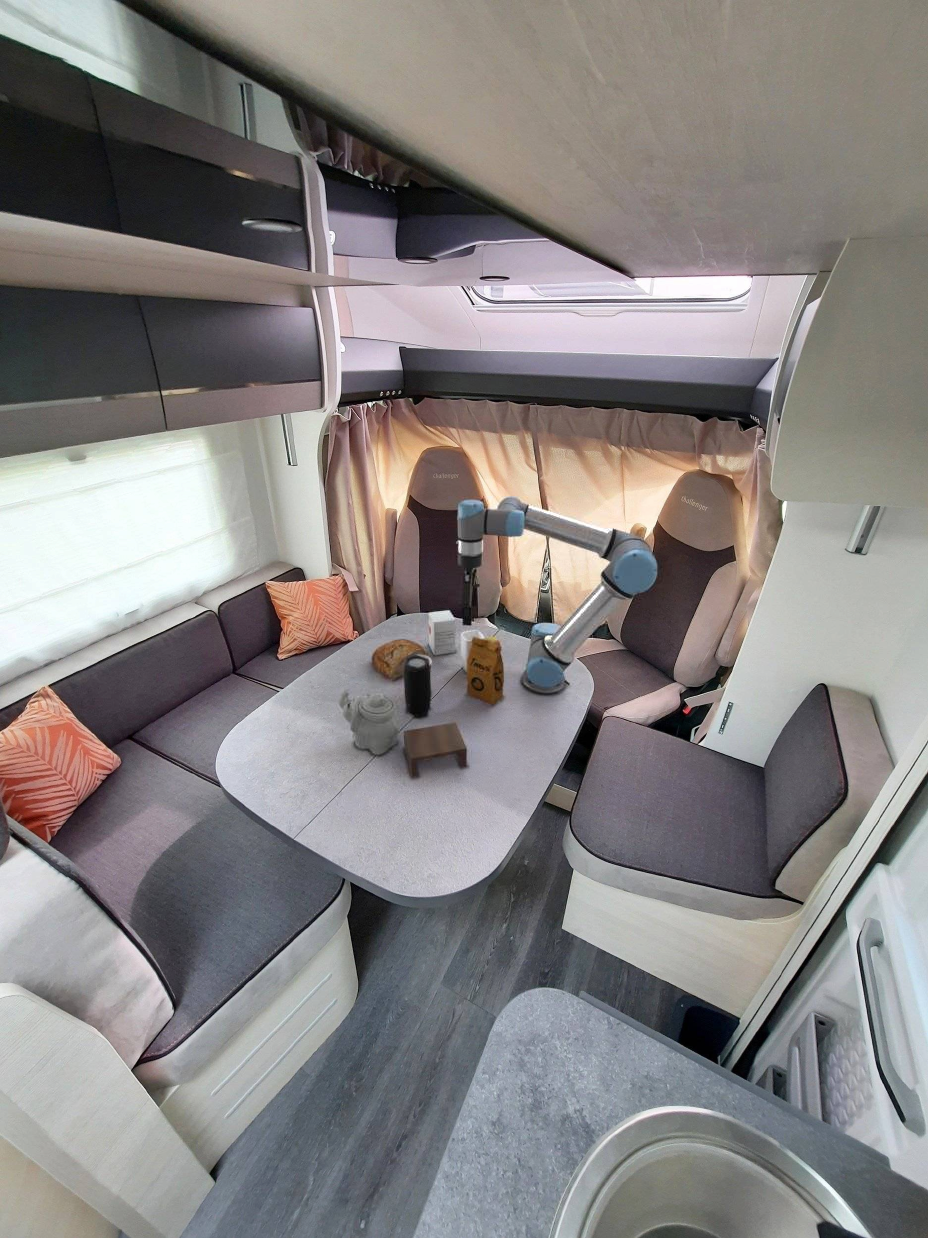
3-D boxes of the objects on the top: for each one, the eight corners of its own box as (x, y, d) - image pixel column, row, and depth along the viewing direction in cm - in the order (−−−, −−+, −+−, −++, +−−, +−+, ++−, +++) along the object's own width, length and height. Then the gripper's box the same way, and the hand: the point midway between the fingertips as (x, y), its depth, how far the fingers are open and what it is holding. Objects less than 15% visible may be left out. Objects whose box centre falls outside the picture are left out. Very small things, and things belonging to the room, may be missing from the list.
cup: (484, 672, 191) (485, 638, 184) (466, 676, 189) (467, 641, 182) (476, 662, 197) (477, 629, 190) (459, 666, 195) (459, 632, 188)
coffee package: (489, 710, 171) (492, 654, 161) (462, 695, 178) (463, 640, 168) (507, 697, 177) (511, 642, 167) (480, 683, 185) (482, 630, 175)
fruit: (475, 639, 202) (494, 647, 196) (486, 629, 205) (505, 637, 199) (477, 651, 206) (496, 660, 200) (488, 642, 210) (507, 650, 204)
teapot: (341, 731, 160) (335, 681, 152) (388, 719, 166) (385, 670, 157) (353, 765, 147) (347, 713, 138) (403, 751, 152) (401, 700, 144)
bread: (390, 684, 183) (388, 660, 179) (363, 663, 196) (361, 640, 191) (434, 664, 196) (434, 641, 191) (407, 645, 208) (406, 624, 203)
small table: (455, 740, 157) (455, 722, 154) (466, 767, 147) (466, 748, 144) (404, 749, 153) (403, 731, 150) (411, 777, 143) (411, 758, 140)
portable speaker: (412, 722, 165) (409, 671, 156) (401, 706, 172) (398, 657, 163) (436, 714, 168) (435, 664, 159) (424, 699, 176) (422, 650, 166)
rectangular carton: (428, 644, 209) (427, 612, 202) (449, 641, 211) (449, 609, 204) (433, 656, 201) (433, 622, 194) (455, 652, 203) (456, 619, 197)
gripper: (464, 538, 166) (464, 598, 175) (450, 566, 144) (452, 632, 153) (487, 539, 165) (486, 599, 174) (477, 568, 143) (476, 634, 152)
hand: (470, 615), depth 164 cm, fingers open, 13 cm apart
